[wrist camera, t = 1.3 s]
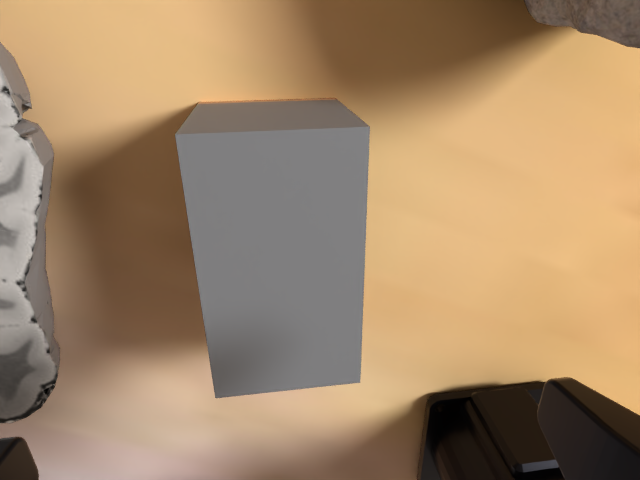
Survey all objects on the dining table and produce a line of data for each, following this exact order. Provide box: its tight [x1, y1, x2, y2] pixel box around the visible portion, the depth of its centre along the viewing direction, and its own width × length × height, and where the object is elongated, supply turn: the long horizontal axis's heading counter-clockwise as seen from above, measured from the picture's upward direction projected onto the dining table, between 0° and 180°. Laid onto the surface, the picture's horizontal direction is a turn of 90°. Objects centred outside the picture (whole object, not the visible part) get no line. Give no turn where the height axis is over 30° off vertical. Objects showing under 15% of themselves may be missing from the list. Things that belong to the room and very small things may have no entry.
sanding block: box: [175, 98, 370, 398], centre depth 14 cm, size 8×4×5 cm, turn 1°
